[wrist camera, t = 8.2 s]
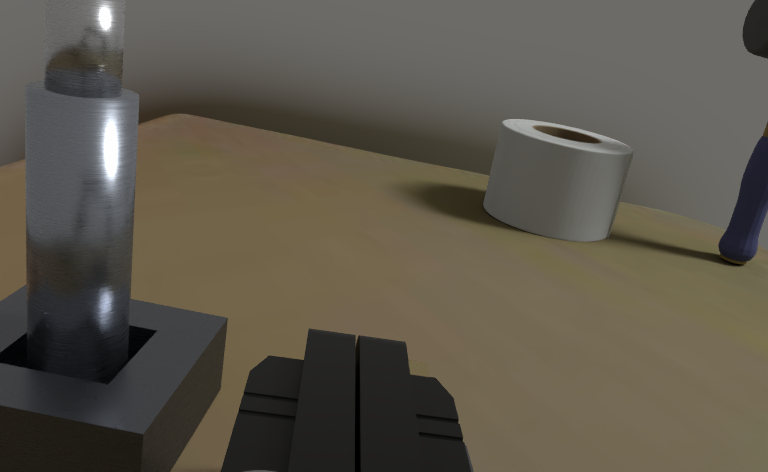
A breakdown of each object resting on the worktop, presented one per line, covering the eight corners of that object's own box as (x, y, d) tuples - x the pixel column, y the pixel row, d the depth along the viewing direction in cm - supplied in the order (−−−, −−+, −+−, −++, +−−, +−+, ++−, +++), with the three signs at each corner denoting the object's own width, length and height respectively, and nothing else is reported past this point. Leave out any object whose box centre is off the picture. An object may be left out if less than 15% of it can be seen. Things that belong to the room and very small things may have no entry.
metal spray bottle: (119, 353, 37) (133, -6, 31) (134, 399, 33) (152, 3, 27) (25, 363, 35) (21, -21, 29) (29, 412, 31) (26, -14, 25)
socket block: (220, 389, 40) (227, 318, 38) (137, 524, 29) (143, 434, 28) (33, 351, 40) (33, 279, 39) (-115, 472, 30) (-122, 380, 28)
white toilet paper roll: (632, 234, 86) (658, 149, 83) (561, 249, 76) (587, 152, 72) (531, 195, 96) (550, 118, 93) (456, 203, 86) (475, 117, 83)
